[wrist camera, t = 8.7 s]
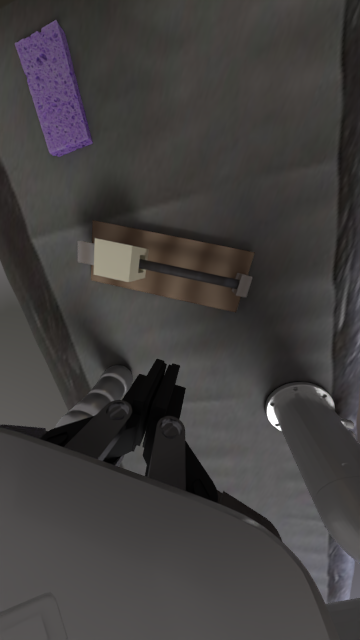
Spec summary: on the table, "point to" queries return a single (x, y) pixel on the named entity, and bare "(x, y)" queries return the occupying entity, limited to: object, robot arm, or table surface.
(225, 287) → the wooden linear slide
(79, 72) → the table surface
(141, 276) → the cream foam block
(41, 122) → the sponges
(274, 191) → the table surface
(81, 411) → the plastic bottle
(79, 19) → the table surface
